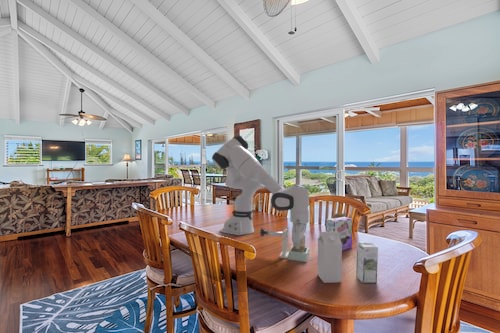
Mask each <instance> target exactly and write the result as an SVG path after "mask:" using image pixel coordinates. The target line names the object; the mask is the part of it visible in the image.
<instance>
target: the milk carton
mask: <svg viewBox="0 0 500 333" xmlns="http://www.w3.org/2000/svg"><path fill="white" fill-rule="evenodd" d="M342 256H343V250H342V243H341V240H340V237H339V235H338V232H326V231H321V232H320V234H319V237H318V238H317V276H318V277H319V278H320V280H321V281H322V283H326V284H327V283H329V284H330V283H334V284H335V283H342V274H343V273H342V272H343V271H342V268H343V266H342V264H343V262H342V261H343V260H342V259H343V257H342Z"/></svg>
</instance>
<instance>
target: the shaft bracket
mask: <svg viewBox="0 0 500 333" xmlns="http://www.w3.org/2000/svg"><path fill="white" fill-rule="evenodd" d="M282 232H283V234H282V236H281V237H282V238H281V239H282V246H281V248H282V250H281V252H280V254H279V256H278V257H279V258H281V259H288V260H290V261H296V262H305V263H307V262H308V259H309V258H310V247H308V246H305V253H303V252H295V251H293V245H291V247H290V248H289V249H288V244H289V243H288V240H289V239H288V236H289V234H288V233H289V231H288V229H287V228H283V230H282ZM286 233H287V234H288V235H287V237H286Z"/></svg>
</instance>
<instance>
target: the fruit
mask: <svg viewBox="0 0 500 333" xmlns="http://www.w3.org/2000/svg"><path fill="white" fill-rule="evenodd" d="M340 217H347V215H346V214H345V213H342V212H337V213H335V214H334V215H333V216H332V218H340ZM332 218H331V219H332Z"/></svg>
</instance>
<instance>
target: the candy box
mask: <svg viewBox="0 0 500 333" xmlns="http://www.w3.org/2000/svg"><path fill="white" fill-rule="evenodd" d="M325 226H326V227H325V232H338V235H339V237H340V240H341V243H342V251H346V250H350V249H351V250H352V248H353V218H351V217H347V216H346V217H340V218H326V223H325Z"/></svg>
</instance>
